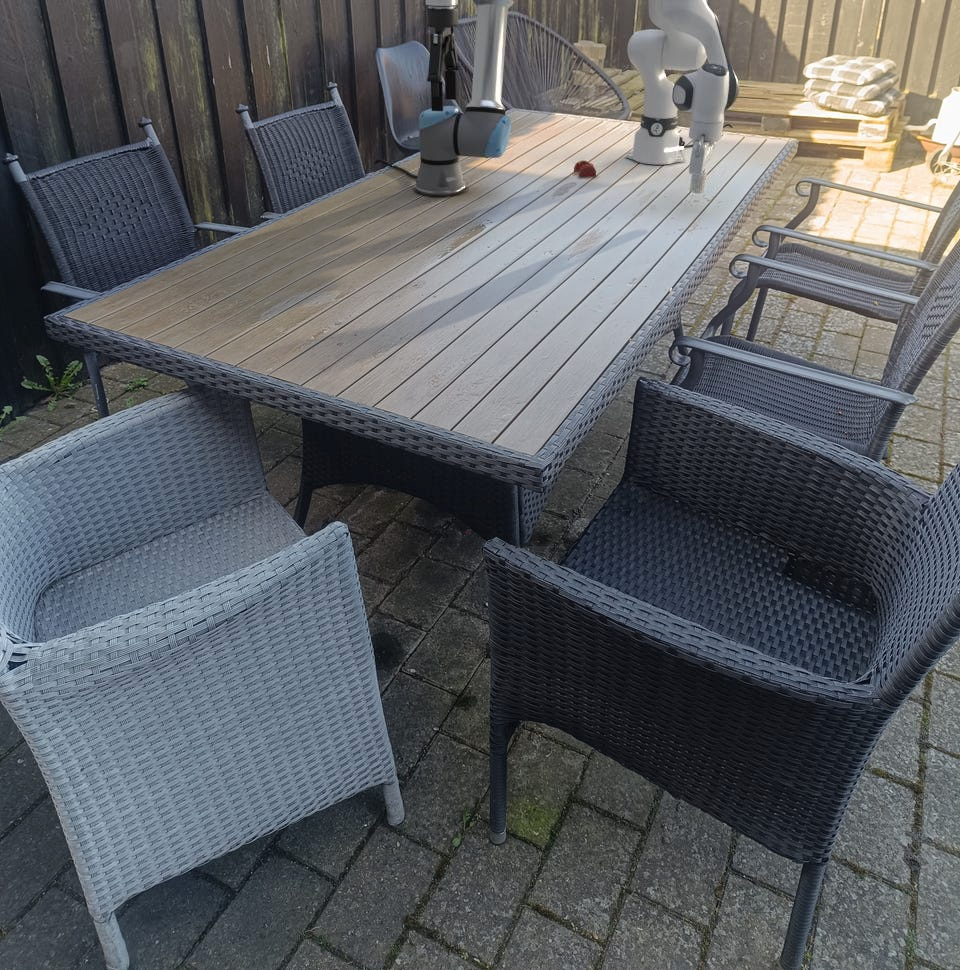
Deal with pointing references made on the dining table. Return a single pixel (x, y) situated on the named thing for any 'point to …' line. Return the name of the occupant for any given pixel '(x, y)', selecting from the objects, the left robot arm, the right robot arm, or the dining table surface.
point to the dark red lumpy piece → (584, 169)
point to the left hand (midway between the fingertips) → (444, 105)
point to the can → (701, 187)
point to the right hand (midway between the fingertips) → (698, 182)
